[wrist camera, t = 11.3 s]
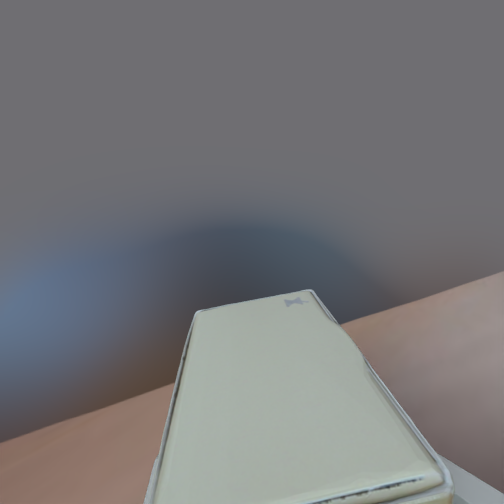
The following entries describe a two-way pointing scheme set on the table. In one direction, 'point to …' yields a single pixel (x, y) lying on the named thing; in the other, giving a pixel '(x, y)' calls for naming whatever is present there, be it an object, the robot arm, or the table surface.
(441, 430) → the table surface
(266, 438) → the skincare box
